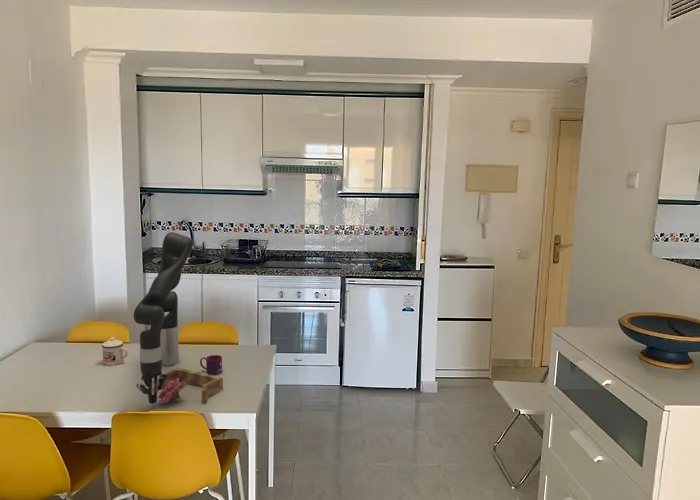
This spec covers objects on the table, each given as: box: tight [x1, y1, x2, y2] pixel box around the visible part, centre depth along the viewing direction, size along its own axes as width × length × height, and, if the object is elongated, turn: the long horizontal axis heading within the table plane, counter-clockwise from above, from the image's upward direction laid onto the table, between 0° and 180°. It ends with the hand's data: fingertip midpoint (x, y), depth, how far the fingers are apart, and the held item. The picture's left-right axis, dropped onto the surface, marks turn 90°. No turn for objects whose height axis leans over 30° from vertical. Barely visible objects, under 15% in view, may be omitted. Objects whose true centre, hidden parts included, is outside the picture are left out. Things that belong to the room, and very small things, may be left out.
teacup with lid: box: [101, 337, 129, 366], centre depth 243 cm, size 12×9×12 cm
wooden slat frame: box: [159, 367, 224, 404], centre depth 214 cm, size 29×14×5 cm, turn 65°
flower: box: [157, 378, 187, 405], centre depth 203 cm, size 11×10×10 cm
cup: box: [199, 354, 223, 376], centre depth 234 cm, size 7×10×7 cm
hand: (152, 403), depth 197 cm, fingers closed
